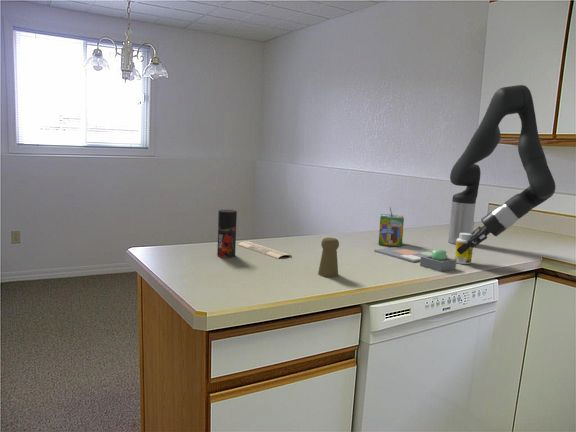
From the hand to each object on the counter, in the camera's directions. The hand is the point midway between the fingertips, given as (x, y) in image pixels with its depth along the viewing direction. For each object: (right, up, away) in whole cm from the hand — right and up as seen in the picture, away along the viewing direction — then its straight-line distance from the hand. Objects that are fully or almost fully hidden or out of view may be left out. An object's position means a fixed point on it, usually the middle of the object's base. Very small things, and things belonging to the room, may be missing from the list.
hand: (458, 250), depth 163 cm
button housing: (-10, -5, -8) cm, 14 cm away
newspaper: (-68, -1, +3) cm, 68 cm away
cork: (-47, -6, -23) cm, 53 cm away
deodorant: (-80, -2, -7) cm, 80 cm away
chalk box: (-18, 0, +26) cm, 32 cm away
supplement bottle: (+1, -5, 0) cm, 5 cm away
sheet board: (-14, -2, +9) cm, 17 cm away
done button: (-10, -4, -8) cm, 13 cm away
